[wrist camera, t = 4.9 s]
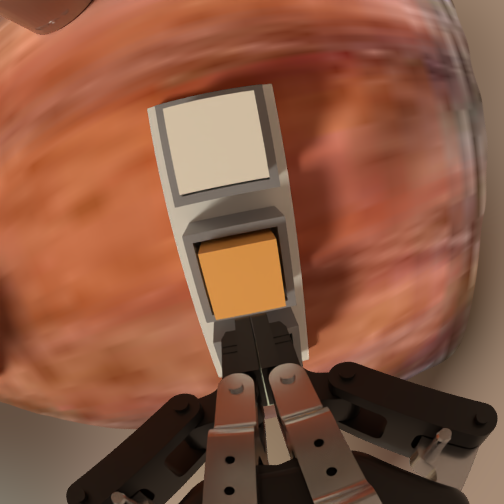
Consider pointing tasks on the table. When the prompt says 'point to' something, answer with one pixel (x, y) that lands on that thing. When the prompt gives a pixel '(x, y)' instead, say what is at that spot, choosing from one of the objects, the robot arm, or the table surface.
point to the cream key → (216, 141)
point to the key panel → (235, 222)
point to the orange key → (242, 273)
